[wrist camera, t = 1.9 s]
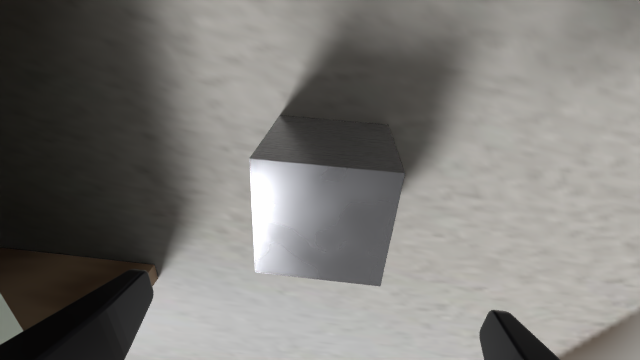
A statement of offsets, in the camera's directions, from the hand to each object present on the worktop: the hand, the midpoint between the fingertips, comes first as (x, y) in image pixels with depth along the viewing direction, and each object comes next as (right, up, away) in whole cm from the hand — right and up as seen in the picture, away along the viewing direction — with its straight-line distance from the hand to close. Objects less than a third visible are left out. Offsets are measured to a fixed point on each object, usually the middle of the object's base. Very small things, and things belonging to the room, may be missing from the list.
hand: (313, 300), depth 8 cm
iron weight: (+1, +4, +7) cm, 8 cm away
